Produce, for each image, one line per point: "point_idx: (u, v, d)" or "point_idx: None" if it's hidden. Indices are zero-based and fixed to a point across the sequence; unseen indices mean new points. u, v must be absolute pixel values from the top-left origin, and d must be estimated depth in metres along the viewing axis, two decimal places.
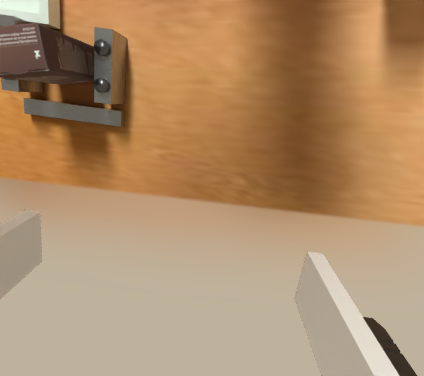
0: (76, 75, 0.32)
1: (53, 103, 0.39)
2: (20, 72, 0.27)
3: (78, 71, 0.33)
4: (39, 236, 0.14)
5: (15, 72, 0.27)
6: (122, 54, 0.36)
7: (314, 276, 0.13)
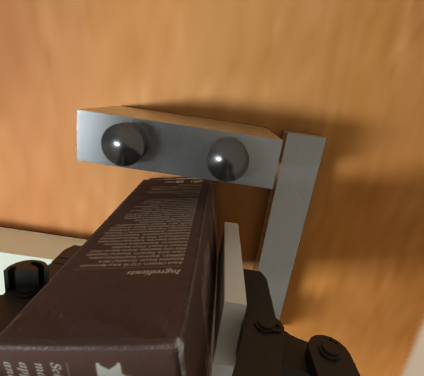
0: (201, 223, 0.11)
1: None
2: None
3: (191, 218, 0.11)
4: None
5: None
6: (152, 113, 0.14)
7: (223, 240, 0.15)
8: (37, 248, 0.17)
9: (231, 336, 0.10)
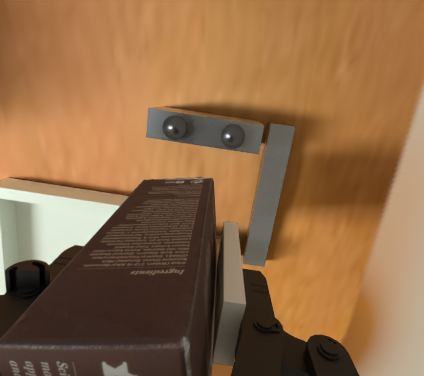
0: (203, 224, 0.11)
1: (252, 225, 0.26)
2: None
3: (192, 218, 0.11)
4: None
5: None
6: None
7: (222, 240, 0.15)
8: (107, 199, 0.26)
9: (230, 336, 0.10)
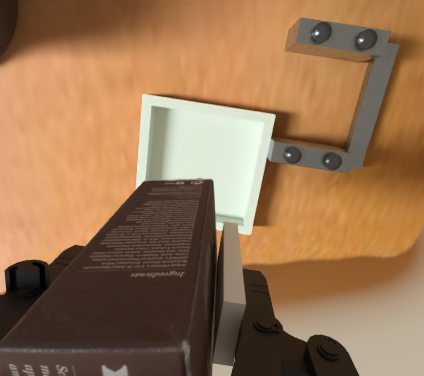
0: (203, 226, 0.11)
1: (355, 131, 0.32)
2: None
3: (192, 220, 0.11)
4: None
5: None
6: None
7: (222, 240, 0.15)
8: (238, 108, 0.31)
9: (230, 336, 0.10)
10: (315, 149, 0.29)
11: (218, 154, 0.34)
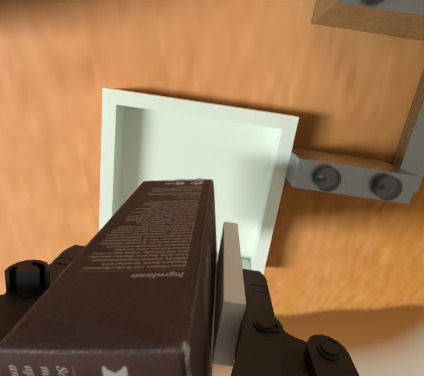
0: (203, 226, 0.11)
1: (412, 140, 0.22)
2: None
3: (192, 220, 0.11)
4: None
5: None
6: None
7: (222, 240, 0.15)
8: (244, 108, 0.21)
9: (230, 336, 0.10)
10: (361, 169, 0.19)
11: (216, 172, 0.24)
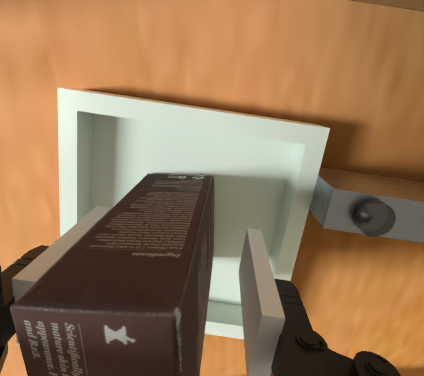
0: (201, 216, 0.12)
1: None
2: None
3: (191, 210, 0.12)
4: None
5: None
6: None
7: (247, 247, 0.14)
8: (253, 116, 0.16)
9: (267, 350, 0.10)
10: (422, 204, 0.13)
11: (215, 199, 0.18)
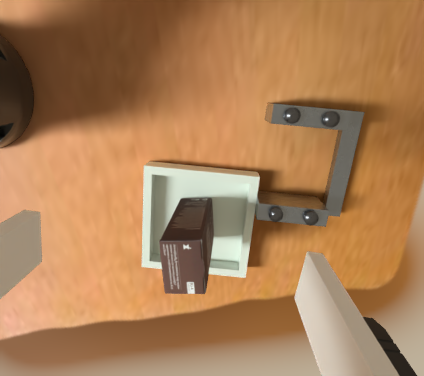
0: (206, 216, 0.32)
1: (331, 185, 0.36)
2: (203, 265, 0.27)
3: (202, 214, 0.32)
4: (40, 236, 0.14)
5: (203, 270, 0.28)
6: None
7: (314, 276, 0.13)
8: (227, 172, 0.36)
9: None
10: (295, 208, 0.33)
11: (213, 208, 0.39)
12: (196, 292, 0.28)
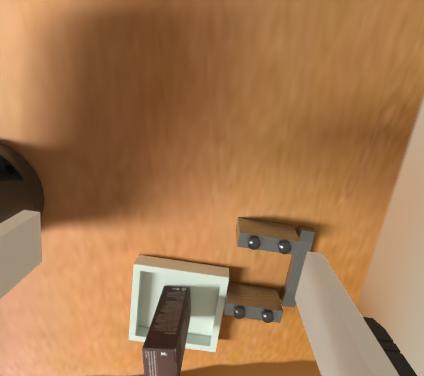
0: (182, 316, 0.39)
1: (288, 284, 0.44)
2: (176, 367, 0.35)
3: (179, 313, 0.40)
4: (39, 236, 0.14)
5: (175, 370, 0.35)
6: (253, 224, 0.41)
7: (314, 276, 0.13)
8: (203, 270, 0.43)
9: None
10: (255, 308, 0.41)
11: (191, 294, 0.46)
12: None
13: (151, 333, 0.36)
